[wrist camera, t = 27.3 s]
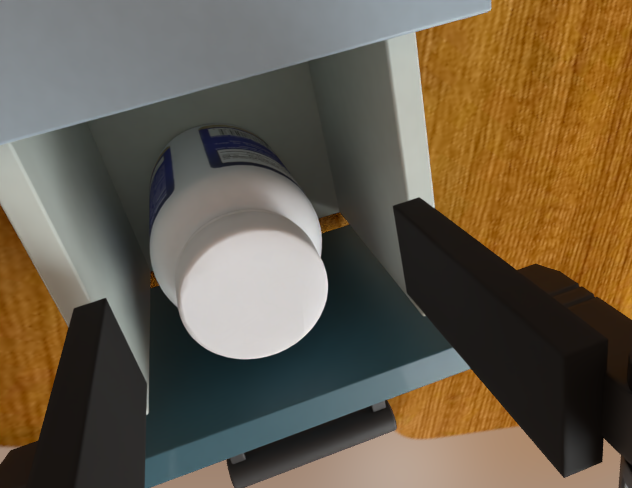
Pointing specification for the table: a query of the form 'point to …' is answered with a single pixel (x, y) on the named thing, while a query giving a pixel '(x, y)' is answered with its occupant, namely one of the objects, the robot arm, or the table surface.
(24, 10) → the cabinet
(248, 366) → the drawer
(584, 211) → the table surface
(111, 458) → the robot arm
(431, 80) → the table surface
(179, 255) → the pill bottle
